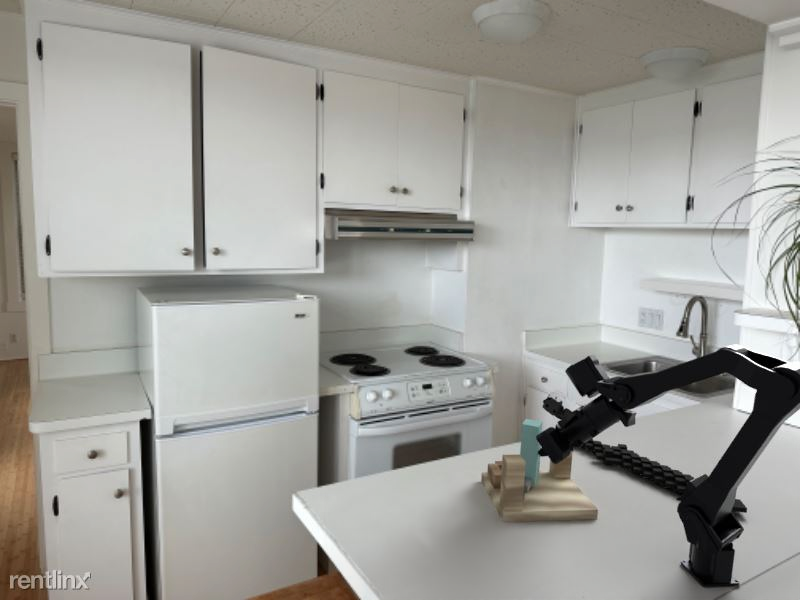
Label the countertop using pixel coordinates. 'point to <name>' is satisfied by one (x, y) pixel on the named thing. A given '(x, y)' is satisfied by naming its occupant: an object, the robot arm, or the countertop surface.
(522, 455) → the folding leg
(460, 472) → the countertop surface
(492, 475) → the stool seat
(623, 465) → the black segmented strip
